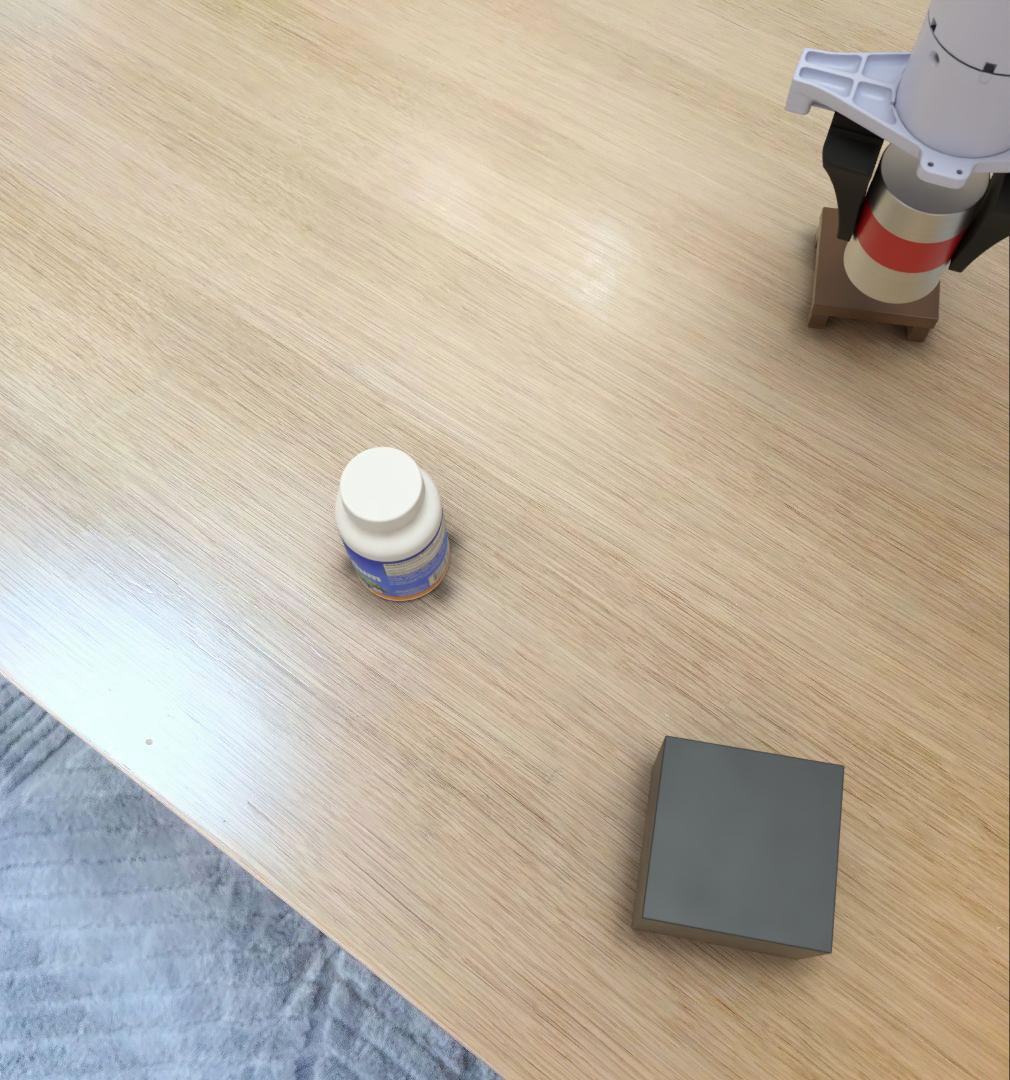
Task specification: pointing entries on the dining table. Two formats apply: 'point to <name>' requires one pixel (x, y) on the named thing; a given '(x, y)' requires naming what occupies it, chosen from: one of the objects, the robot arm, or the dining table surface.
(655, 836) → the square coaster
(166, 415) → the dining table surface
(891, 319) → the stool
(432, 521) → the pill bottle
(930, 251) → the can
